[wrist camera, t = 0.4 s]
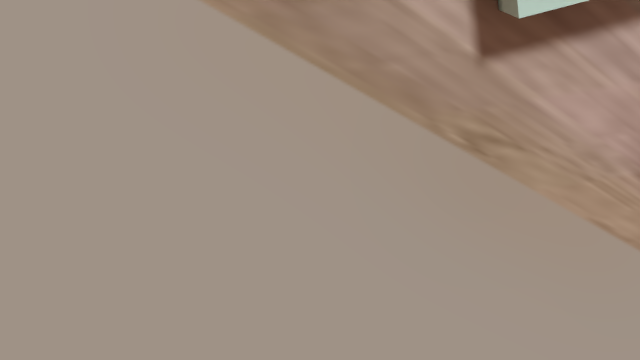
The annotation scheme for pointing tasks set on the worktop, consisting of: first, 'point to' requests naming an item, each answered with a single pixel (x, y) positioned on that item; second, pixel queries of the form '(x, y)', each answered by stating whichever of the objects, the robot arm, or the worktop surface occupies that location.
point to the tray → (532, 6)
